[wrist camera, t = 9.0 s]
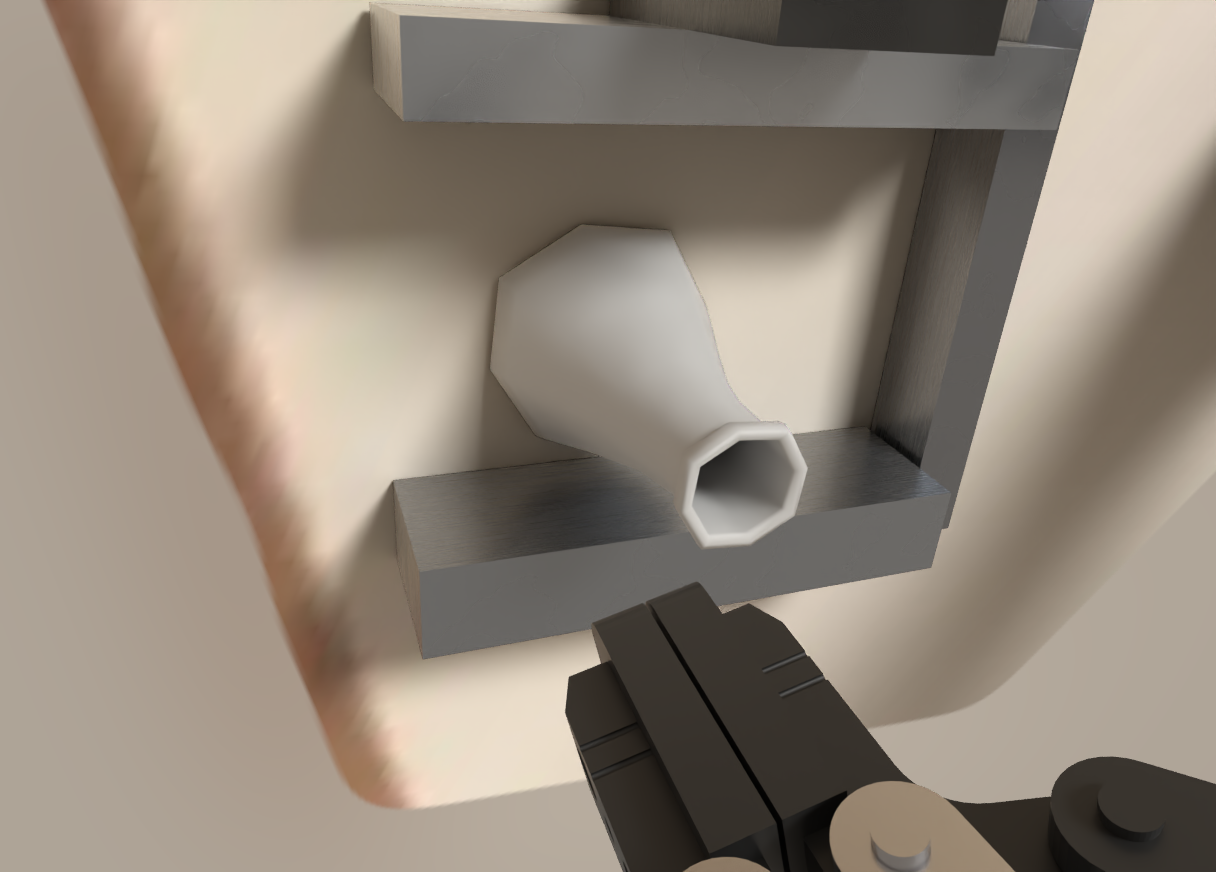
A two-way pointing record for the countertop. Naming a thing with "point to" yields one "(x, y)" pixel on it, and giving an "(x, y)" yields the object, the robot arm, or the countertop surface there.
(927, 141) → the countertop surface
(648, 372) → the flask
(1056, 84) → the vise jaw sliding
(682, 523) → the vise fixed
